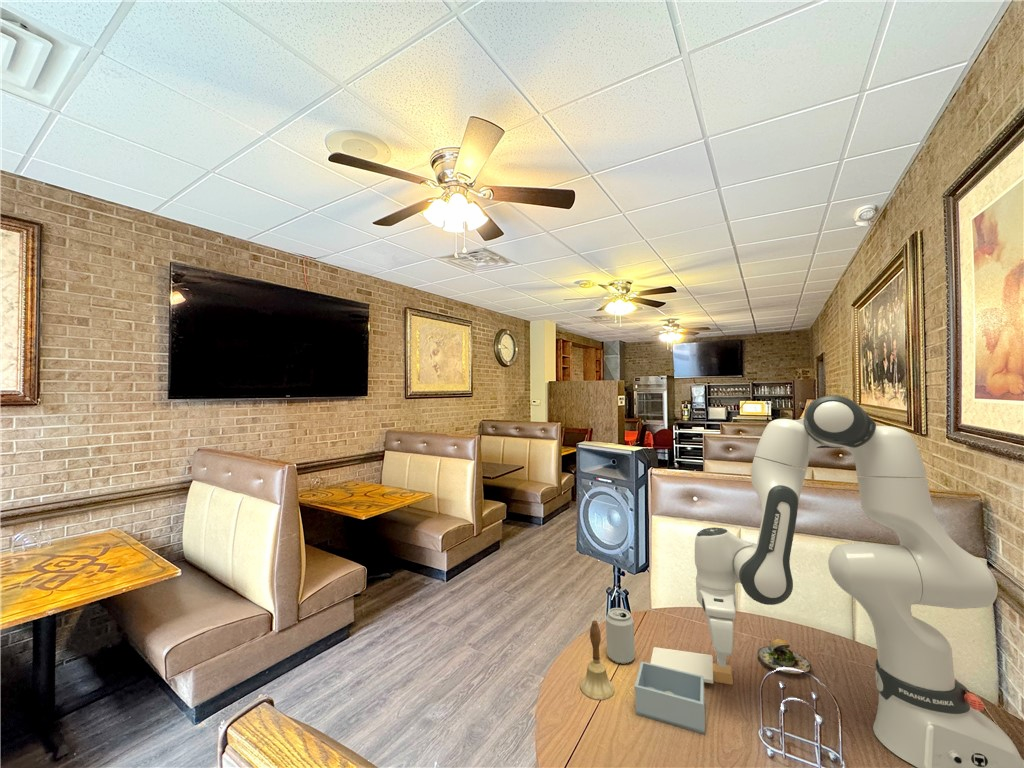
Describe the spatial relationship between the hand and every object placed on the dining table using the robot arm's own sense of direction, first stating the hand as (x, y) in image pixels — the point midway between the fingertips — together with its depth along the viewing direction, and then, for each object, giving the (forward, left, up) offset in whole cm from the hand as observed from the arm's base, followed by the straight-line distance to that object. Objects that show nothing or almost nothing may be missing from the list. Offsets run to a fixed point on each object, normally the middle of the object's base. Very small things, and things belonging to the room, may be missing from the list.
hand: (718, 654), depth 99 cm
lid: (+7, -4, -8) cm, 11 cm away
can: (+25, -3, -8) cm, 26 cm away
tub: (+11, +12, -8) cm, 18 cm away
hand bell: (+28, +12, -8) cm, 31 cm away
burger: (-15, -17, -8) cm, 24 cm away
